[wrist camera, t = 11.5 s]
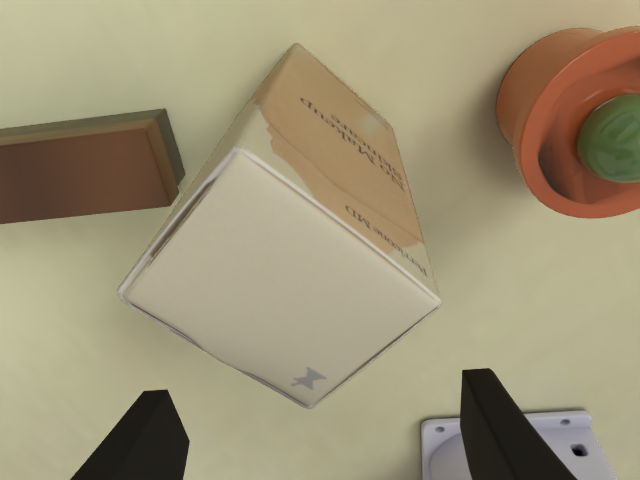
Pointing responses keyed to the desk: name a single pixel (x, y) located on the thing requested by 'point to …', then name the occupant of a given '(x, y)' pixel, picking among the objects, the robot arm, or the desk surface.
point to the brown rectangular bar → (88, 167)
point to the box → (293, 241)
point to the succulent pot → (577, 120)
